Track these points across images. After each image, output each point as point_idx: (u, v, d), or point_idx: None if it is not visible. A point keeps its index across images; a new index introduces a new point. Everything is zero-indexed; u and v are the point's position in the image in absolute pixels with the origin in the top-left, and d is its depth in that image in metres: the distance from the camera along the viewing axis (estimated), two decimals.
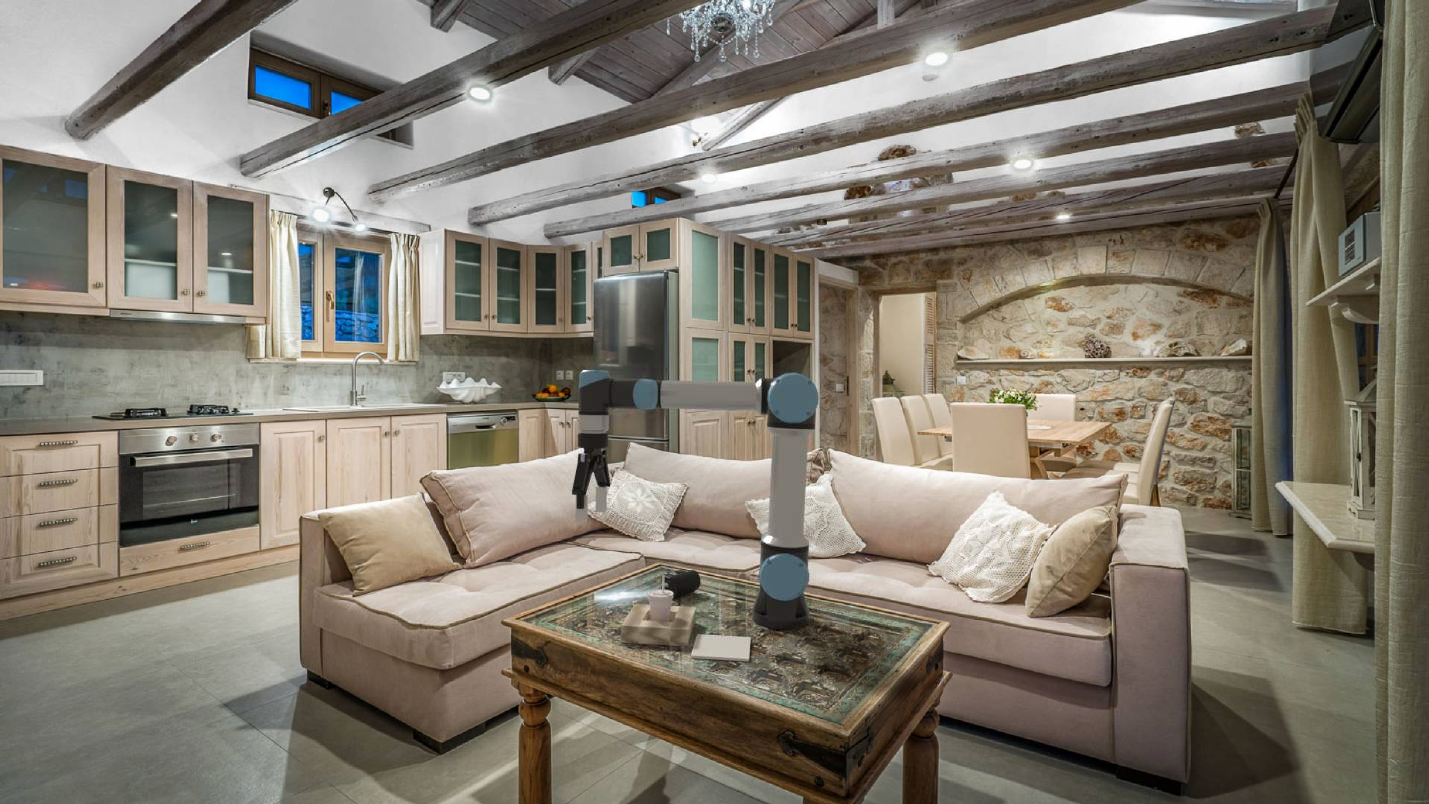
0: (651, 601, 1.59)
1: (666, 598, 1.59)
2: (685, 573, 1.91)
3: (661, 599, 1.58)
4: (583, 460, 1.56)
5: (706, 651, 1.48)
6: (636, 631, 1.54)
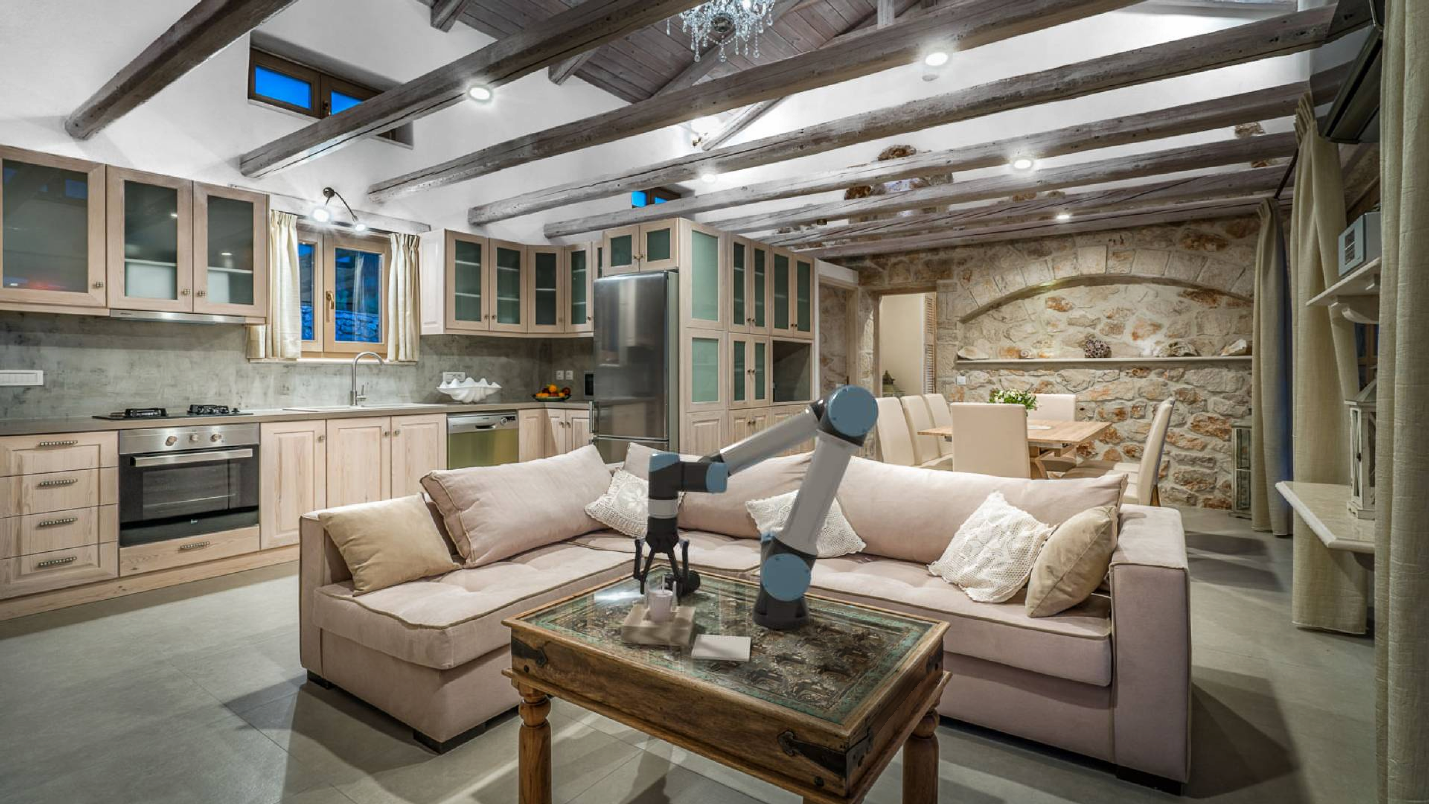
0: (651, 601, 1.59)
1: (666, 598, 1.59)
2: None
3: (661, 599, 1.58)
4: None
5: (706, 651, 1.48)
6: (636, 631, 1.54)
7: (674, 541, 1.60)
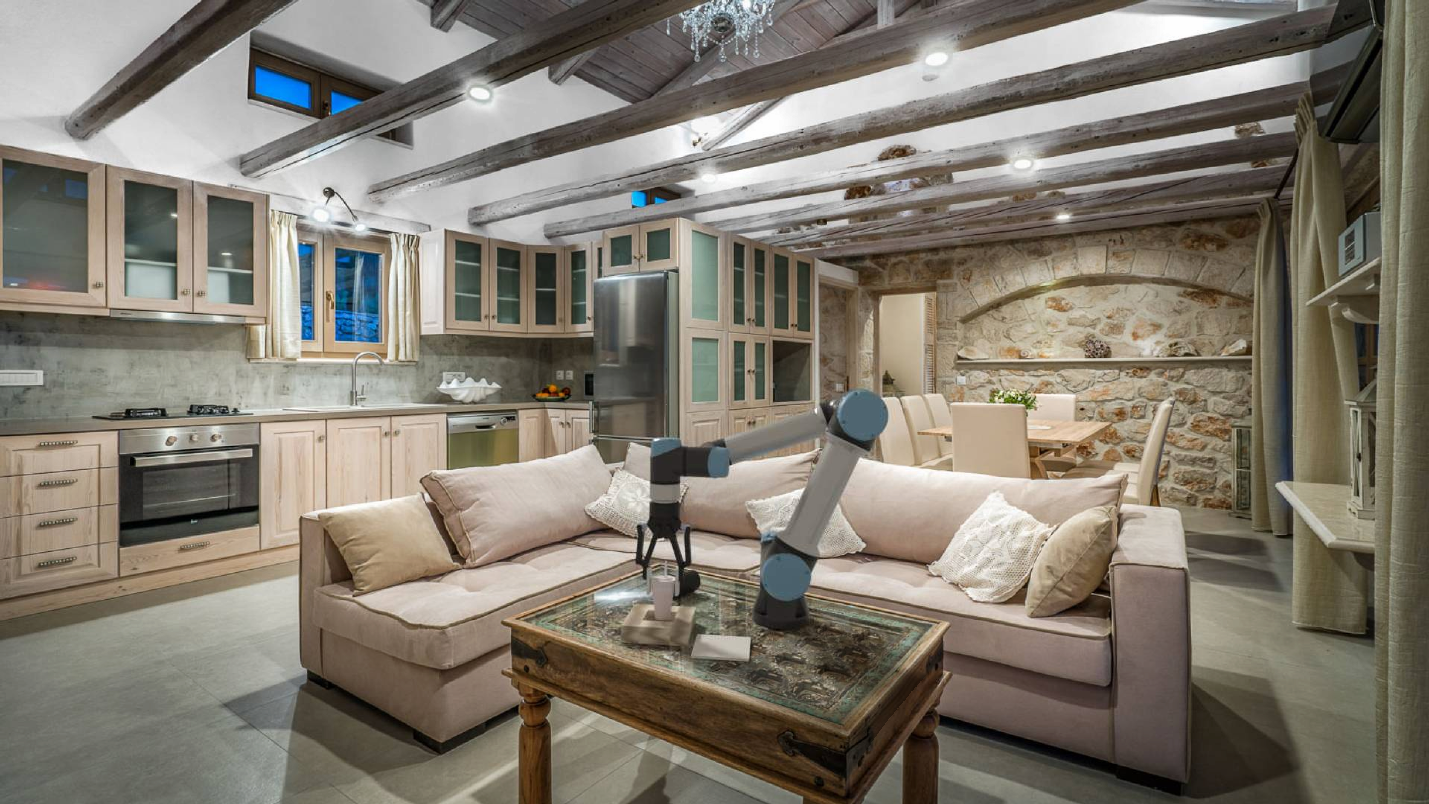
0: (654, 586, 1.59)
1: (669, 583, 1.58)
2: (685, 573, 1.91)
3: (664, 584, 1.58)
4: None
5: (706, 651, 1.48)
6: (636, 631, 1.54)
7: (676, 526, 1.60)
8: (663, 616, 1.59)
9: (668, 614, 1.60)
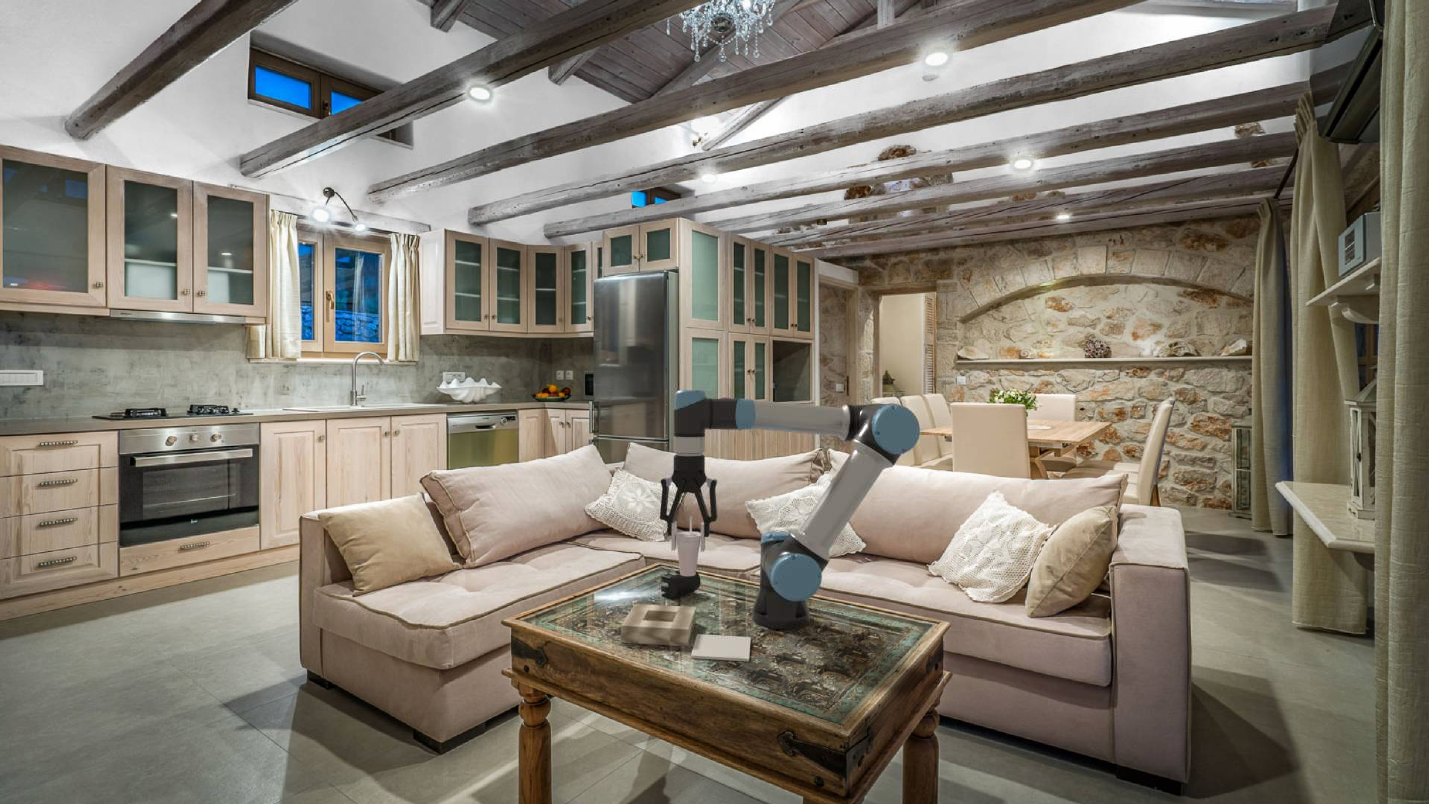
0: (679, 542, 1.55)
1: (694, 538, 1.55)
2: None
3: (689, 539, 1.54)
4: None
5: (706, 651, 1.48)
6: (636, 631, 1.54)
7: (701, 480, 1.56)
8: (689, 572, 1.55)
9: (694, 570, 1.56)
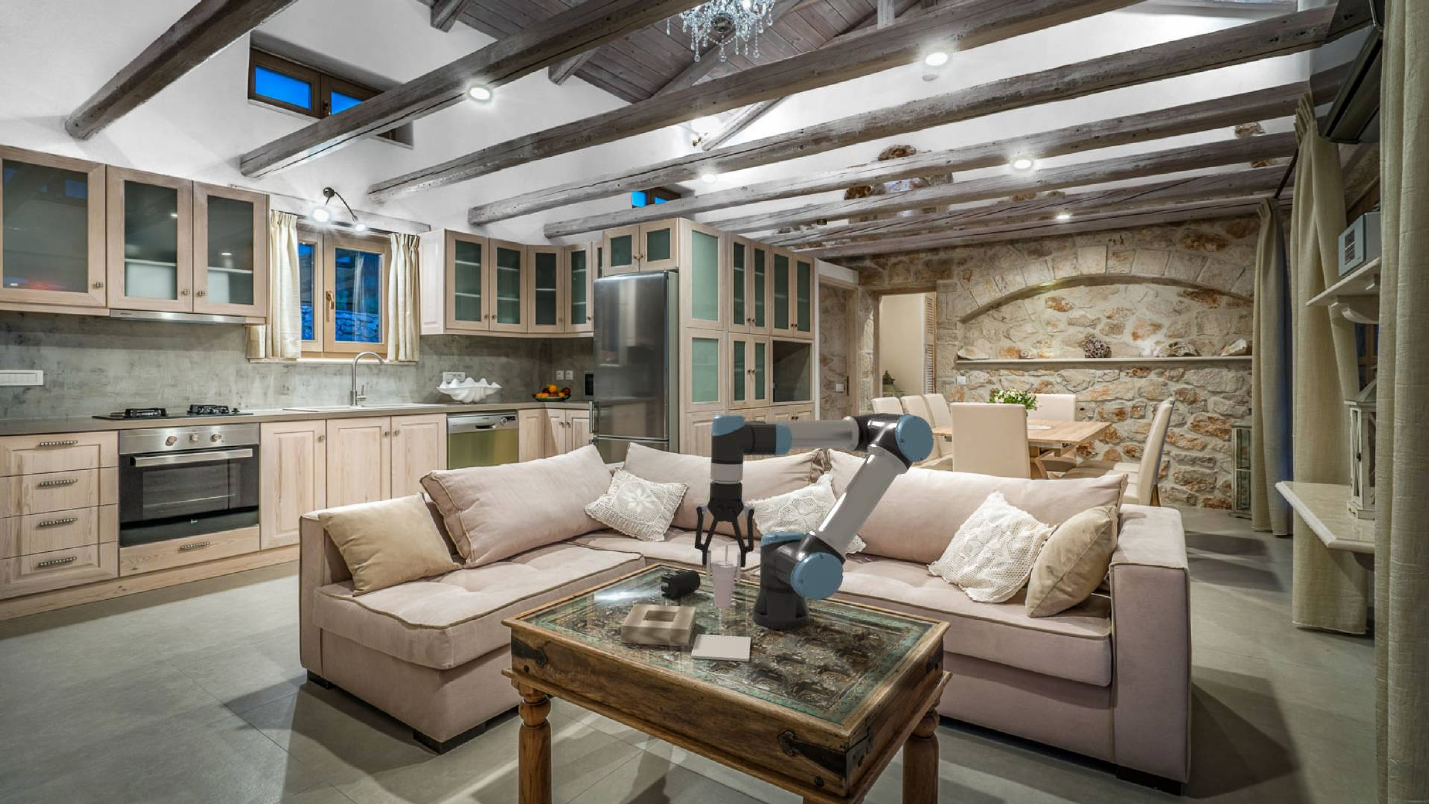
0: (714, 572, 1.50)
1: (731, 569, 1.49)
2: (685, 573, 1.91)
3: (725, 570, 1.49)
4: None
5: (706, 651, 1.48)
6: (636, 631, 1.54)
7: (739, 508, 1.50)
8: (724, 604, 1.50)
9: (729, 602, 1.51)
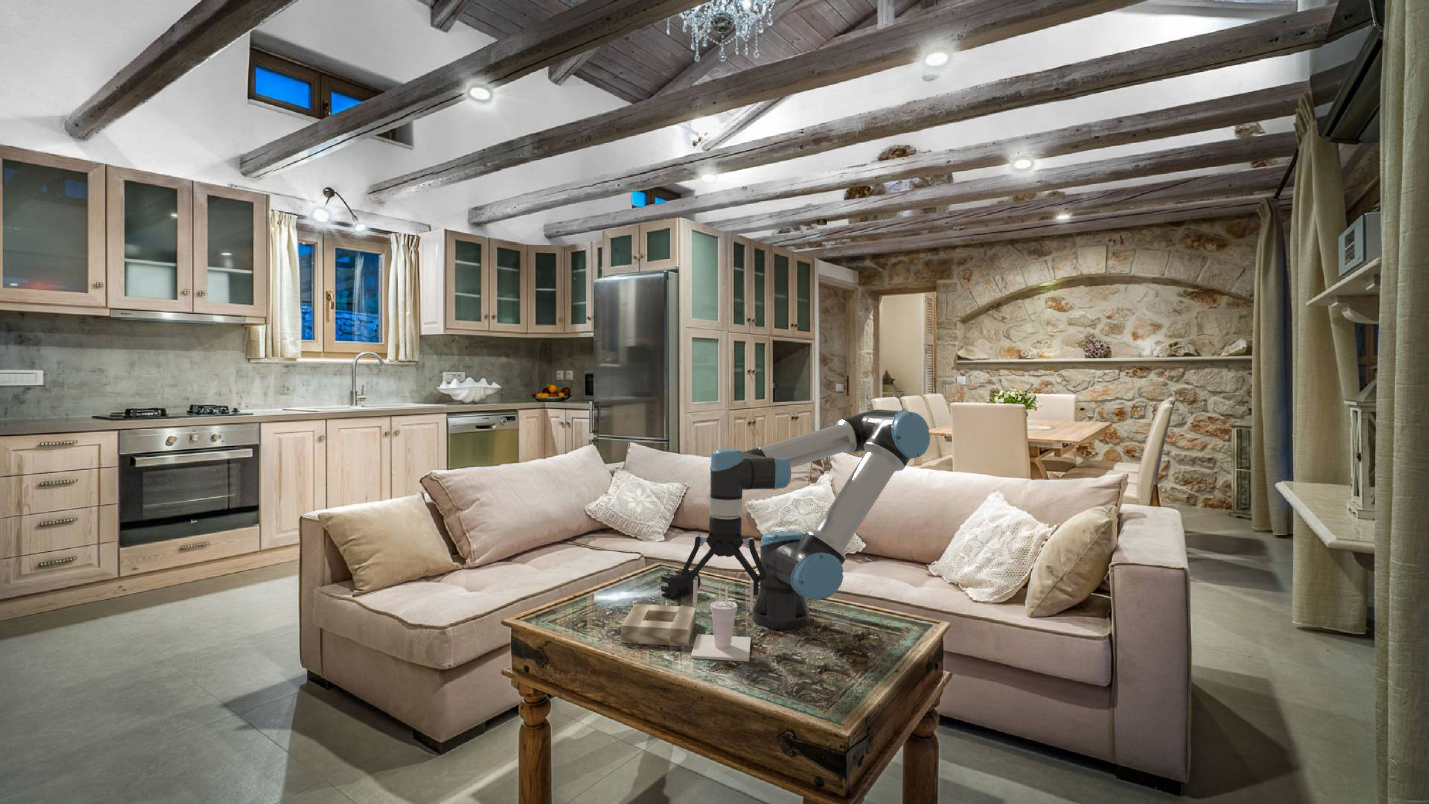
0: (714, 613, 1.50)
1: (731, 610, 1.49)
2: None
3: (725, 611, 1.49)
4: None
5: (706, 651, 1.48)
6: (636, 631, 1.54)
7: (738, 543, 1.50)
8: (724, 645, 1.50)
9: (729, 643, 1.51)
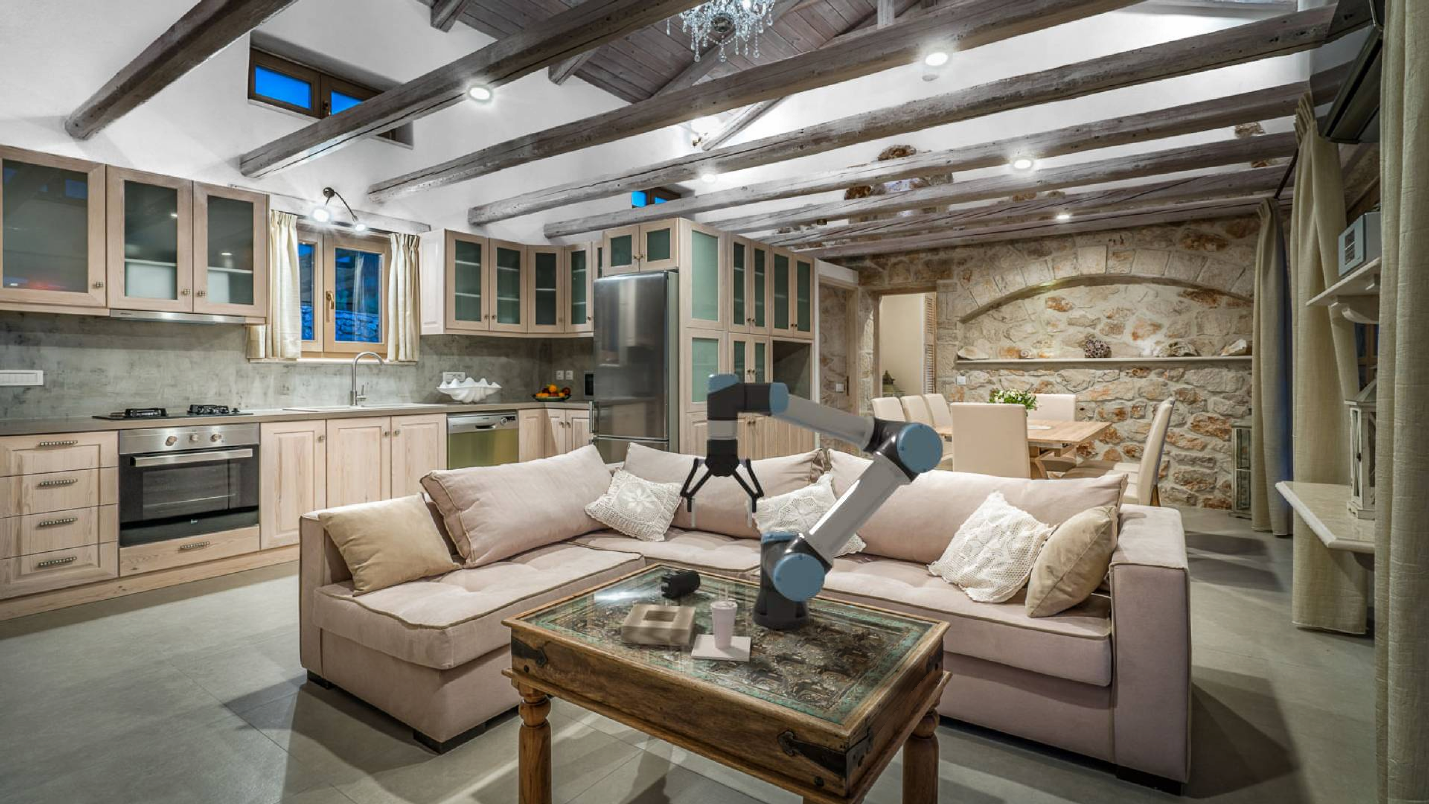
0: (714, 613, 1.50)
1: (731, 610, 1.49)
2: (685, 573, 1.91)
3: (725, 611, 1.49)
4: None
5: (706, 651, 1.48)
6: (636, 631, 1.54)
7: (736, 463, 1.56)
8: (724, 645, 1.50)
9: (729, 643, 1.51)
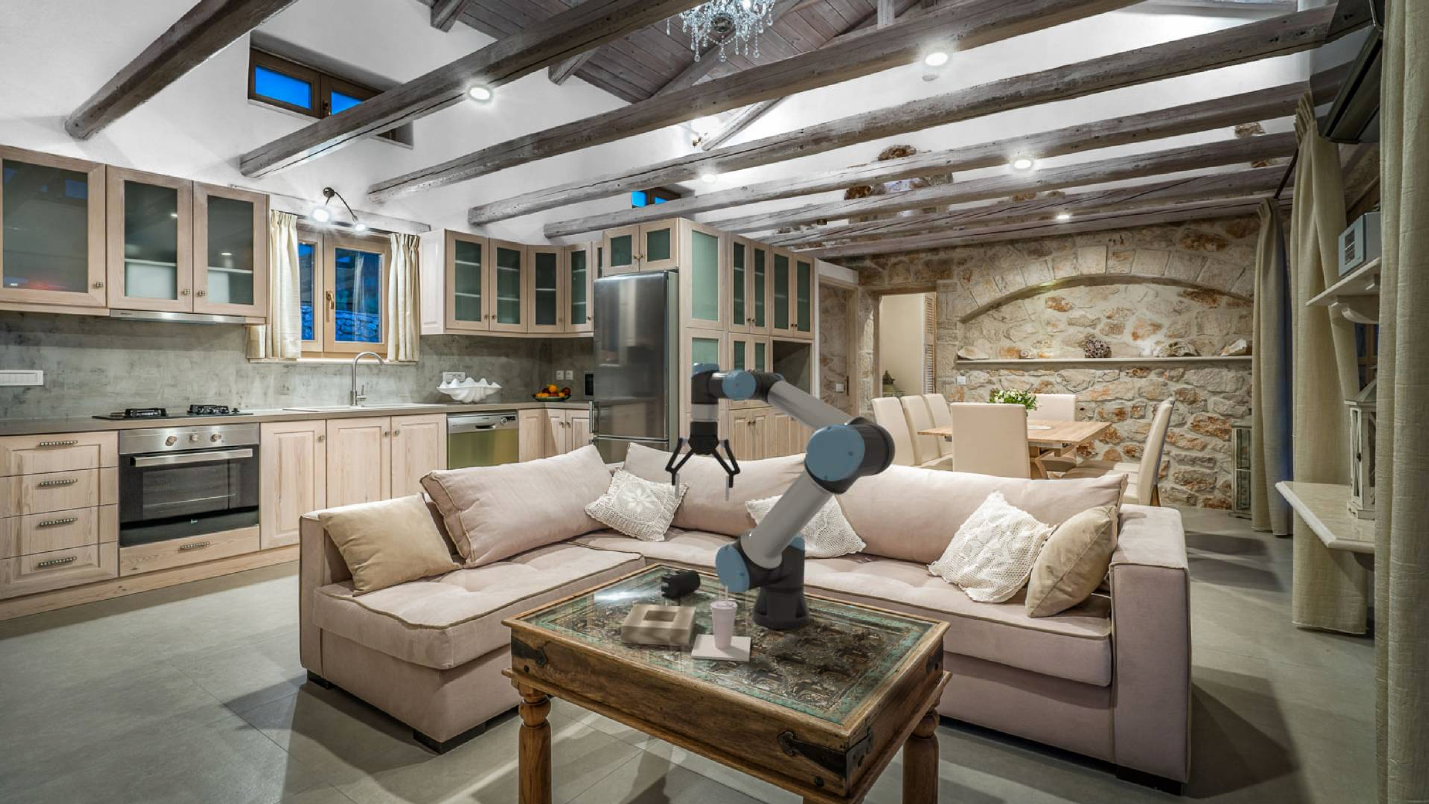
0: (714, 613, 1.50)
1: (731, 610, 1.49)
2: (685, 573, 1.91)
3: (726, 611, 1.49)
4: None
5: (706, 651, 1.48)
6: (636, 631, 1.54)
7: (715, 443, 1.75)
8: (724, 645, 1.50)
9: (729, 643, 1.51)
